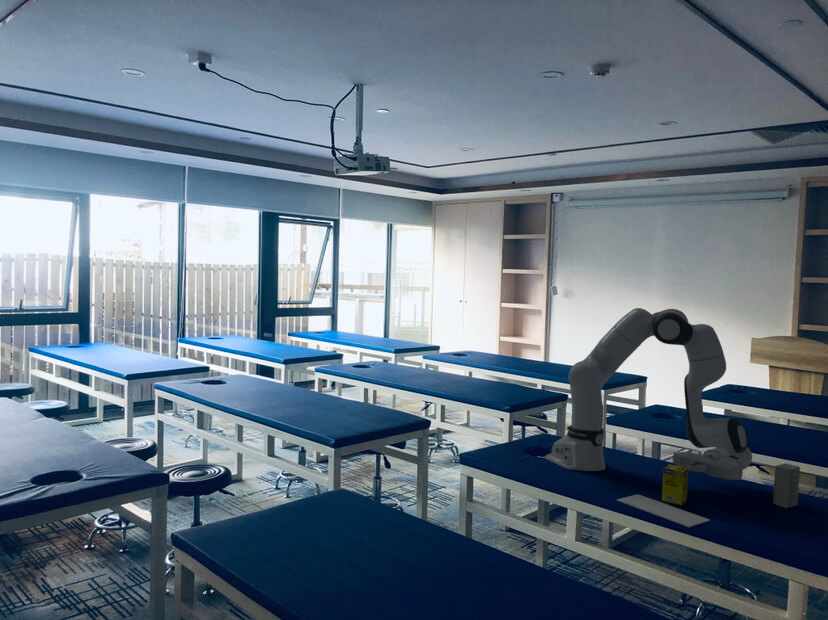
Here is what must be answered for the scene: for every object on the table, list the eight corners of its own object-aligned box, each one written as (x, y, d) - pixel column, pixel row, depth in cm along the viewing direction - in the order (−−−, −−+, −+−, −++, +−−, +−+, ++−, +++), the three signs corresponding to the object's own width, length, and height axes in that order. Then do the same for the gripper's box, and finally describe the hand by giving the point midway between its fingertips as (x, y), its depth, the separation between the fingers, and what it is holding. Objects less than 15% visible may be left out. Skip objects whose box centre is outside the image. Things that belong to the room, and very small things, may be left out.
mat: (616, 500, 190) (616, 499, 190) (637, 495, 195) (637, 494, 195) (689, 527, 170) (689, 526, 170) (710, 520, 175) (710, 519, 175)
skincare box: (783, 501, 194) (786, 462, 194) (798, 505, 191) (800, 466, 190) (772, 504, 191) (774, 465, 191) (786, 508, 187) (789, 469, 187)
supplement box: (682, 508, 185) (683, 471, 185) (661, 503, 189) (663, 467, 188) (687, 502, 190) (688, 467, 189) (666, 498, 193) (668, 463, 193)
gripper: (687, 445, 210) (662, 450, 202) (747, 460, 193) (722, 466, 185) (686, 463, 210) (661, 469, 202) (746, 480, 193) (721, 487, 185)
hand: (691, 468), depth 193 cm, fingers closed
